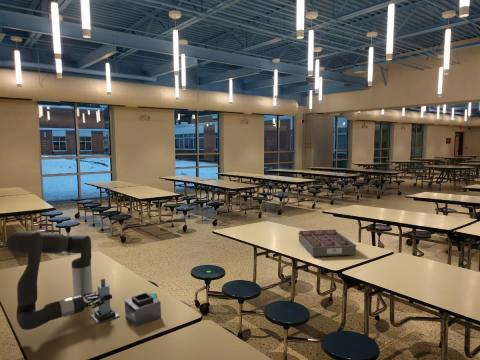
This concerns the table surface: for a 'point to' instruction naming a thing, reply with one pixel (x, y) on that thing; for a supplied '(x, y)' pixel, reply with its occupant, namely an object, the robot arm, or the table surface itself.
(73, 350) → the table surface
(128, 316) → the box with square opening
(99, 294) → the plug
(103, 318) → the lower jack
